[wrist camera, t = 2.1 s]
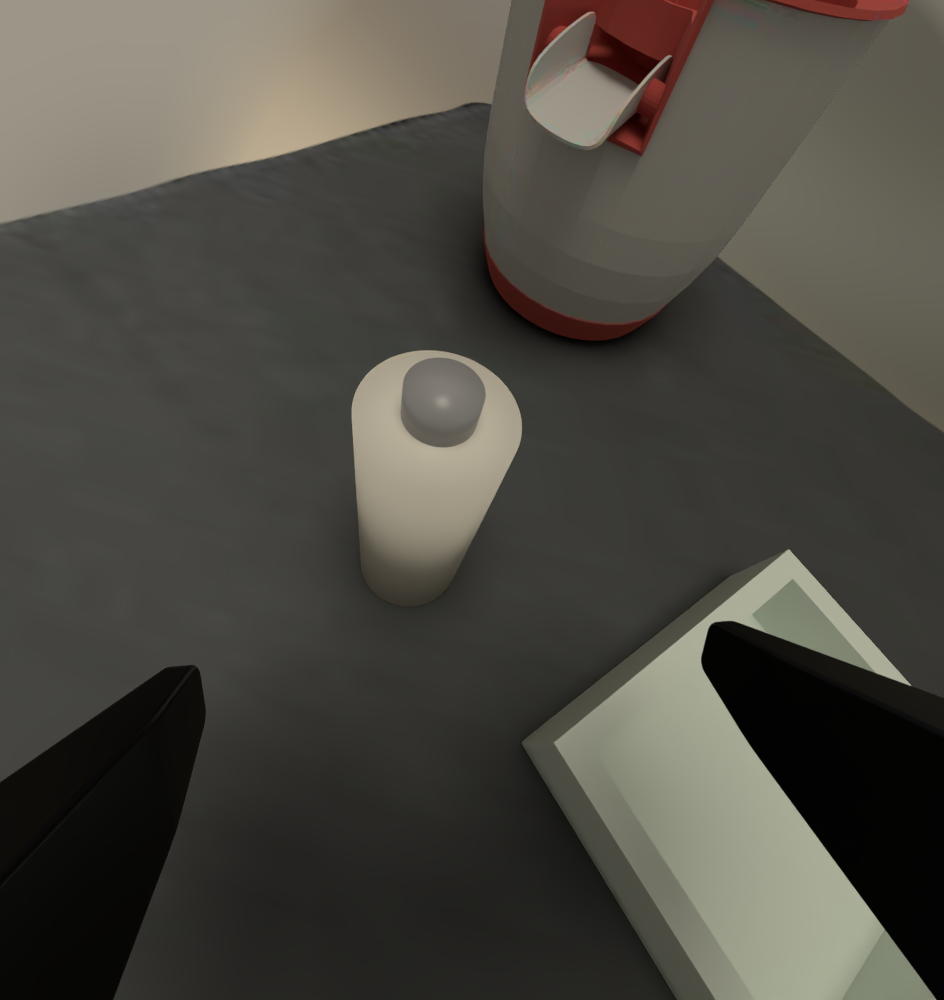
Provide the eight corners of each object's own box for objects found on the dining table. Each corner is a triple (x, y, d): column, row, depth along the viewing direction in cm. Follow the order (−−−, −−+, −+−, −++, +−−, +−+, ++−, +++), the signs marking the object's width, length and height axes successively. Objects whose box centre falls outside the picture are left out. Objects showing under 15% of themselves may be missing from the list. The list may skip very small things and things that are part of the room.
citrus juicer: (391, 282, 30) (419, -370, 12) (538, 188, 38) (681, -287, 20) (592, 428, 27) (980, -122, 10) (703, 294, 35) (1025, -140, 18)
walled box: (770, 1153, 15) (891, 1278, 12) (520, 742, 19) (553, 742, 16) (953, 844, 20) (1073, 866, 17) (729, 576, 25) (788, 549, 21)
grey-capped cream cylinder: (390, 625, 20) (411, 500, 10) (343, 542, 21) (316, 352, 11) (474, 576, 22) (568, 424, 11) (426, 502, 23) (470, 304, 13)
